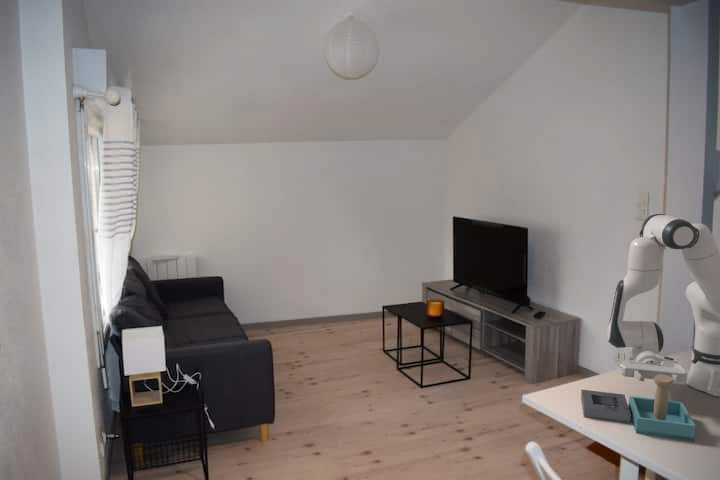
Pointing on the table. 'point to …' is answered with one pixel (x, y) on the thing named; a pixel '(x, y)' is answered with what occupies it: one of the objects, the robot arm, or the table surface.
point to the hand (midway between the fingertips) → (657, 380)
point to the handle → (661, 396)
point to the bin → (673, 427)
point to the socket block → (605, 412)
